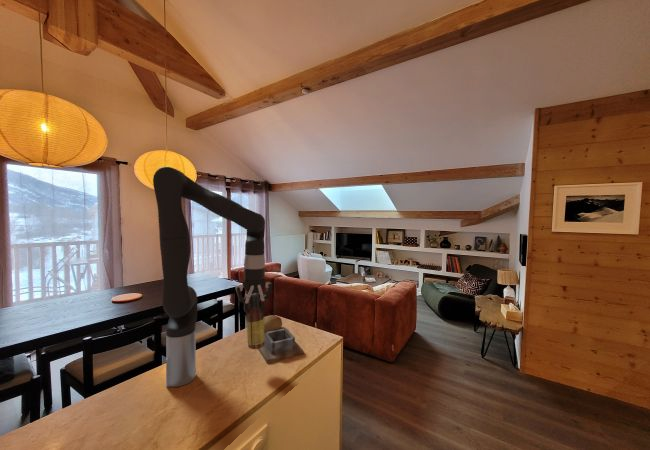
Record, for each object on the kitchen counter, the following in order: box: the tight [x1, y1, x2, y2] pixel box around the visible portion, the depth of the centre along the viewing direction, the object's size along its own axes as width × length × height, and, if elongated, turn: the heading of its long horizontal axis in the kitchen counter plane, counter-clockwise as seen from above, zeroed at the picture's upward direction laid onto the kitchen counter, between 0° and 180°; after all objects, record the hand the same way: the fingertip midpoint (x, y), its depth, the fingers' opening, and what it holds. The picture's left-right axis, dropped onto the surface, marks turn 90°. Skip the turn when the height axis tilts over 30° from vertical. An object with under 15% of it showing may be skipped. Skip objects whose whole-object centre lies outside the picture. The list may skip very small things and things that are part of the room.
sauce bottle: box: [246, 293, 265, 350], centre depth 99 cm, size 6×6×20 cm
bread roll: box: [264, 314, 283, 333], centre depth 134 cm, size 10×15×8 cm, turn 145°
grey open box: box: [258, 328, 304, 364], centre depth 116 cm, size 16×16×6 cm
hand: (254, 311), depth 98 cm, fingers closed on sauce bottle, 4 cm apart
